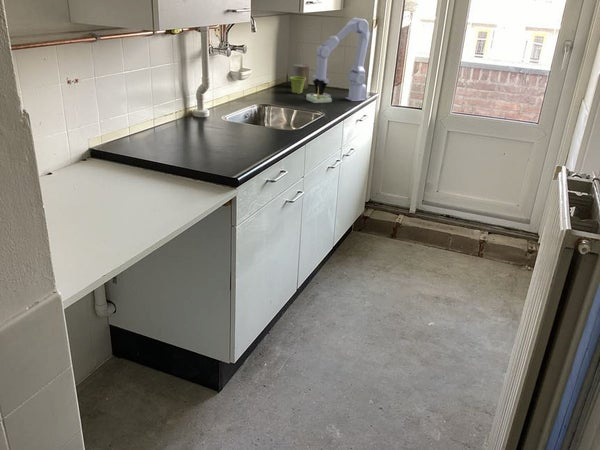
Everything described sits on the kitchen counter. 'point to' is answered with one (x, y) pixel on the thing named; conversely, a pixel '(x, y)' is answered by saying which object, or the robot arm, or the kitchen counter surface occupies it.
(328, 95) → the tensioner socket
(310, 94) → the idler pulley
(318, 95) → the lock pin
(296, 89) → the plant pot
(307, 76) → the pillar candle
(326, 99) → the tray
